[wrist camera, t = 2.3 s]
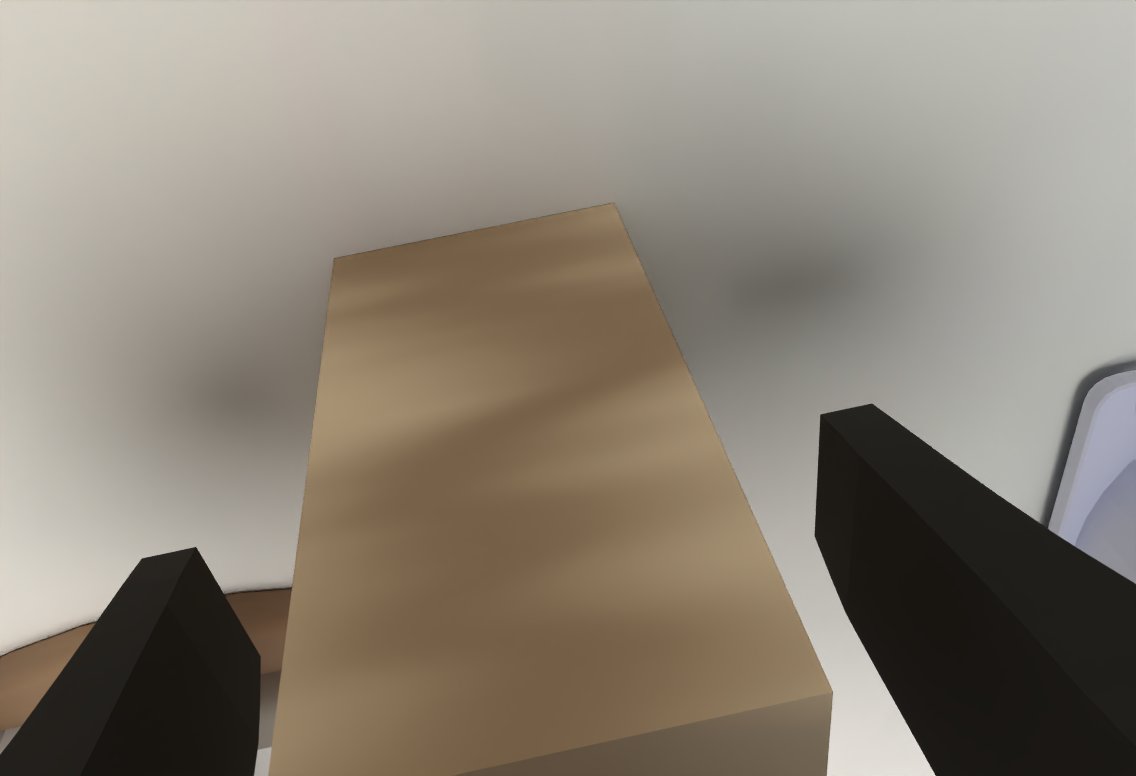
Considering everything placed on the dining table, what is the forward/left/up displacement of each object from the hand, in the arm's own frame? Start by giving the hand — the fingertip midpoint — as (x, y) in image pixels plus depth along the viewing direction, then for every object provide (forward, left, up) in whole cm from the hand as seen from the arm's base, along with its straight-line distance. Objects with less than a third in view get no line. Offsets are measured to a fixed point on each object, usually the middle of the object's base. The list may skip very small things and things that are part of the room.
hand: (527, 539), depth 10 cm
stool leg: (0, 0, -4) cm, 4 cm away
